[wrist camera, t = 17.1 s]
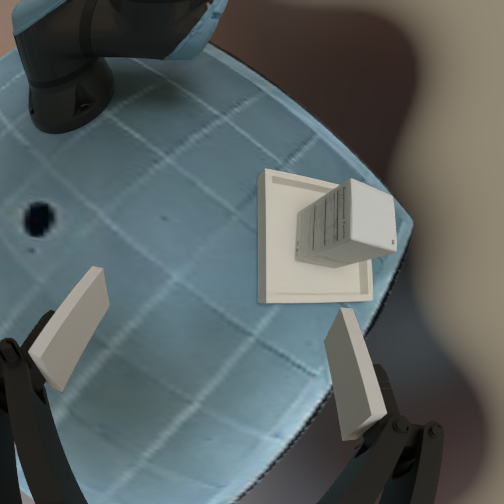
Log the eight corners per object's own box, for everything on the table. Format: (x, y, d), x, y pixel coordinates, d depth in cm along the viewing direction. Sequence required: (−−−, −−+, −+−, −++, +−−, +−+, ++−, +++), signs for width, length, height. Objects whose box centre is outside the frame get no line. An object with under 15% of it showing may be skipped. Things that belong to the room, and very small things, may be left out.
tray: (257, 177, 39) (265, 168, 36) (352, 197, 45) (363, 191, 42) (257, 303, 35) (266, 303, 33) (360, 301, 41) (373, 300, 39)
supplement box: (336, 223, 41) (395, 195, 30) (335, 269, 39) (398, 254, 28) (296, 211, 39) (350, 175, 27) (292, 261, 37) (352, 240, 25)
